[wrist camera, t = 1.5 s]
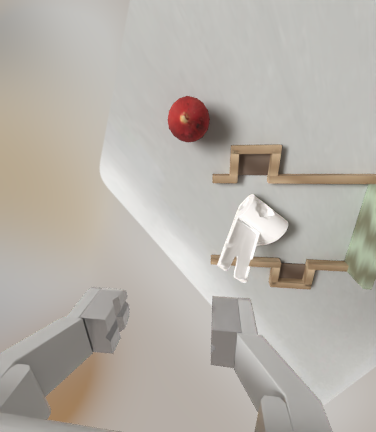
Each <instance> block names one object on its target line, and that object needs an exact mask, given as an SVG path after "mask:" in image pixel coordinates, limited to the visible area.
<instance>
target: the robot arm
mask: <svg viewBox="0 0 376 432" xmlns="http://www.w3.org/2000/svg"><path fill="white" fill-rule="evenodd" d="M126 299H127V293H126V291H125V290H121V289H111V288H98V287H91V288H89V289H88V290H87V292H86V293H85V294H84V295H83V296H82V298H81V299H80V300H79V301H78V303H77V304H76V305H75V306H74V308H73V309H72V310H71V311H70V313H69V314H68V315H67V316H66V317H61V318H60V319H58V320H56V321H54V322H53V323H51V324H49V325H48V326H46V327H44V328H42V329H41V330H39V331H37V332H35V333H34V334H32V335H30V336H29V337H27V338H25V339H23V340H22V341H20V342H19V343H17V344H15V345H13V346H11V347H10V348H8V349H6V350H4V351H3V352H1V353H0V432H120V431H114V430H107V429H101V428H95V427H89V426H83V425H77V424H70V423H64V422H58V421H52V420H47V419H48V417H49V415H50V413H51V408H50V406H49V404H48V402H47V400H46V398H45V397H46V396H47V395H48V394H49V393H50V392H51V391H52V390H53V389H54V388H55V387H57V386H58V385H59V384H60V383H61V382H62V381H63V380H64V379H65V378H66V377H67V376H68V375H69V374H71V373H72V372H73V371H74V370H75V369H76V368H77V367H78V366H79V365H80V364H82V363H83V362H84V361H85V360H86V359H87V358H88V357H89V356H90V355H91V354H92V352H101V353H112V354H113V353H114V351H115V349H116V346H117V344H118V342H119V340H120V333H119V332H120V331H122V330H123V329H124V328H125V327H126V325H127V322H128V318H129V310H130V309H129V305H128V303H127V302H126ZM211 333H212V335H211V365H216V366H223V367H230V368H234V370H235V372H236V374H237V376H238V377H239V379H240V381H241V383H242V385H243V386H244V388H245V390H246V392H247V394H248V396H249V397H250V399H251V401H252V403H253V405H254V406H255V408H256V410H257V412H258V417H257V422H256V427H255V432H333V431H332V429H331V426H330V424H329V421H328V418H327V416H326V413H325V411H324V408H323V405H322V403H321V401H320V400H319V399H318V397H317V396H316V395H315V394H314V393H313V392H312V391H311V390H310V388H309V387H308V386H307V385H306V384H305V383H304V382H303V381H302V379H301V378H300V377H299V376H298V375H297V374H296V373H295V372H294V370H293V369H292V368H291V367H290V366H289V365H288V364H287V363H286V361H285V360H284V359H283V358H282V357H281V356H280V355H279V354H278V353H277V351H276V350H275V349H274V348H273V347H272V346H271V345H270V344H269V342H268V341H267V340H266V339H265V338H264V337H263V336H262V335H258V332H257V327H256V323H255V318H254V313H253V308H252V303H251V300H250V298H233V297H218V296H213V298H212V332H211Z"/></svg>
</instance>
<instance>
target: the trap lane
mask: <svg viewBox="0 0 376 432" xmlns="http://www.w3.org/2000/svg"><path fill="white" fill-rule="evenodd" d="M281 150H282V145H231V156H230V174H213V183H237V178H238V175H268V176H267V182H268V183H294V184H368V187H367V191H366V194H365V197H364V200H363V203H362V206H361V210H360V213H359V216H358V219H357V222H356V225H355V229H354V232H353V235H352V238H351V241H350V244H349V248H348V251H347V254H346V257H345V260H344V261H330V260H309V259H306V264H292V263H281V261H280V259H279V258H267V257H253V259H252V260H250V263H249V266H252V267H271V270H270V277H269V284H270V287H280V288H296V289H311V285H312V281H313V277H314V273H315V270H328V271H346V272H348V273H349V274H350V275H351V276H352V277H353V279H354V280H355V281H356V282H357V283H358V284H359V285H360V286H361V287H362V288H363V289H370V290H371V289H372V286H373V284H374V281H375V279H376V174H278V171H279V164H280V157H281ZM220 256H221V255H211V264H215V265H217V264H218V261H219V258H220ZM236 260H237V258H236V256H235V258H234V260H233V262H232V264H231V265H234V266H236Z"/></svg>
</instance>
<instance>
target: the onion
mask: <svg viewBox="0 0 376 432" xmlns="http://www.w3.org/2000/svg"><path fill="white" fill-rule="evenodd" d="M209 121H210V118H209V114H208V110H207V108H206V107H205V105H204V104H203V102H201V101H200V100H198V99H197V98H194V97H190V96H186V97H182V98H179V99H178V100H177V101H176V102H175V103H174V104H173V105H172V107H171V109H170V111H169V115H168V124H169V129H170V130H171V132H172V134H173V135H174V136H175V137H177V138H178V139H179V140H181V141H185V142H194V141H197V140H198V139H200V138H202V137H203V136H204V134H205V133H206V131H207V130H208V126H209Z"/></svg>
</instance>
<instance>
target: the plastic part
mask: <svg viewBox="0 0 376 432" xmlns="http://www.w3.org/2000/svg"><path fill="white" fill-rule="evenodd" d="M287 228H288V221H287V220H285V219H284V218H283V217H281V216H280V215H279V214H278V213H276V212H275V211H274V210H273V209H271V208H270V207H269V206H267V205H266V204H265V203H264V202H262V201H261V200H260V199H258V198H257V197H256V196H255V195H253V194H251V195H249V196H248V197H247V198H246V199H245V200H244V201H243V202H242V203H241V204H240V206H239V208H238V210H237V213H236V215H235V218H234V221H233V224H232V226H231V229H230V232H229V234H228V237H227V240H226V242H225V245H224V248H223V250H222V253H221V256H220V258H219V261H218V264H217V266H219V267H220V268H222V269H223V270H225V271H228V270H229V268H230V266H231V264H232V262H233V260H234V258H235V256H236V258H237V260H236V266H235V271H234V277H235V278H236V279H238V280H239V281H241V282H242V283H245V282H247V281H248V280H247V278H248V275H249V271H250V266H249V263H250V260H252V259H253V257H254V253H255V249H256V246H258V245H268V244H270V243H272V242H275V241H277V240H278V239H279V238H280V237H282V236H283V234H284V233H285V232H286V230H287Z"/></svg>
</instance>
